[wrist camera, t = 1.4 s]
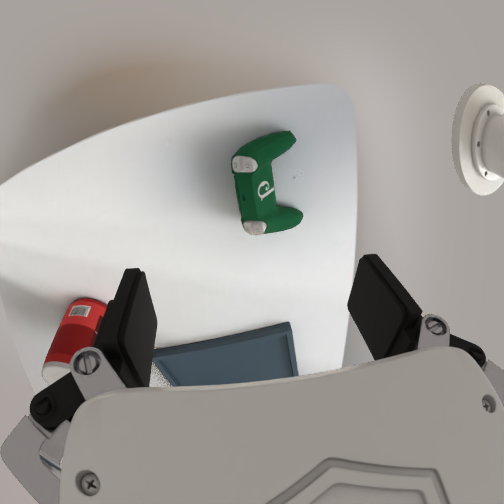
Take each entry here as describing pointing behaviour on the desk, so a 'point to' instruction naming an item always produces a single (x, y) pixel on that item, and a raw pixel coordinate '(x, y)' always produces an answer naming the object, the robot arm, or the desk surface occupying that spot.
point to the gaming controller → (262, 185)
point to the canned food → (73, 337)
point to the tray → (231, 358)
